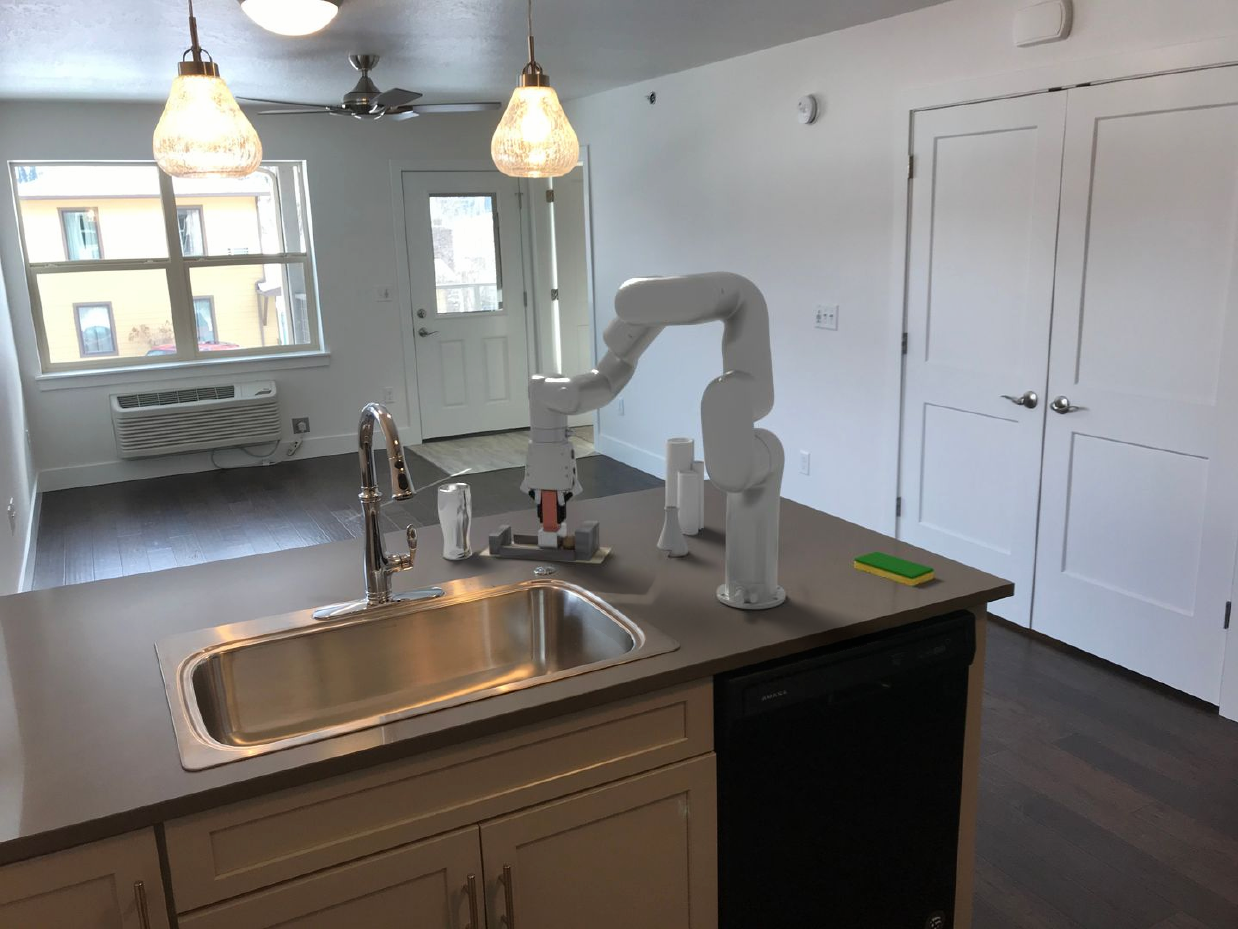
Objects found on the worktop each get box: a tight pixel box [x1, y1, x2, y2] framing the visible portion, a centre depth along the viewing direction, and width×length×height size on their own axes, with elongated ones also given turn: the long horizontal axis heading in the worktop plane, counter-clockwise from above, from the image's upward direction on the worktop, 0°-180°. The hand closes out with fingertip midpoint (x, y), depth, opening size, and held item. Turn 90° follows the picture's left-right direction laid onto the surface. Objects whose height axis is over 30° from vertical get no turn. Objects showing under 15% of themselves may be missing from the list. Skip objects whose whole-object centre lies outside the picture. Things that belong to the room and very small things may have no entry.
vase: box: [664, 437, 705, 536], centre depth 219 cm, size 11×7×20 cm, turn 27°
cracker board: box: [478, 520, 613, 564], centre depth 200 cm, size 10×26×8 cm, turn 77°
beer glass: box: [437, 482, 473, 561], centre depth 202 cm, size 7×7×15 cm
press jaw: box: [537, 490, 568, 550], centre depth 199 cm, size 7×4×13 cm, turn 166°
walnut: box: [562, 534, 575, 550], centre depth 199 cm, size 4×4×4 cm
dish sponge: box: [854, 551, 935, 587], centre depth 190 cm, size 7×14×2 cm, turn 38°
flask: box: [656, 505, 689, 558], centre depth 203 cm, size 7×7×10 cm
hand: (552, 521), depth 199 cm, fingers closed on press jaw, 3 cm apart
